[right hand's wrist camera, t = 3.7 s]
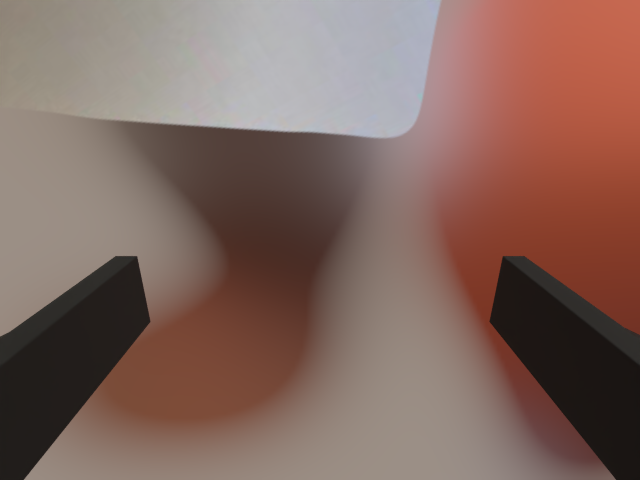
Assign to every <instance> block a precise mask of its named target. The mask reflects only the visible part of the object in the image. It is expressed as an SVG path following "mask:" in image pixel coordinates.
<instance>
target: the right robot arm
mask: <svg viewBox="0 0 640 480" xmlns="http://www.w3.org/2000/svg"><path fill="white" fill-rule="evenodd" d="M149 323H150V317H149V312H148V308H147V303H146V298H145V293H144V288H143V283H142V278H141V273H140V268H139V263H138V259H137V256H115V257H114V258H113V259H111V260H110V261H108V262H107V263H106V264H104V265H103V266H101V267H100V268H99V269H97V270H96V271H94V272H93V273H92V274H90V275H89V276H87V277H86V278H85V279H83V280H82V281H80V282H79V283H78V284H76V285H75V286H73V287H72V288H71V289H69V290H68V291H66V292H65V293H64V294H62V295H61V296H59V297H58V298H57V299H55V300H54V301H52V302H51V303H50V304H48V305H47V306H45V307H44V308H43V309H41V310H40V311H38V312H37V313H36V314H34V315H33V316H31V317H30V318H29V319H27V320H26V321H24V322H23V323H22V324H20V325H19V326H17V327H16V328H15V329H13V330H12V331H10V332H9V333H7V334H5V335H3V336H1V337H0V480H24V479H25V477H26V476H27V475H28V474H29V473H30V471H31V470H32V469H33V467H34V466H35V465H36V464H37V462H38V461H39V460H40V459H41V458H42V456H43V455H44V454H45V453H46V451H47V450H48V449H49V448H50V446H51V445H52V444H53V443H54V441H55V440H56V439H57V437H58V436H59V435H60V434H61V433H62V431H63V430H64V429H65V428H66V426H67V425H68V424H69V423H70V421H71V420H72V419H73V418H74V416H75V415H76V414H77V413H78V411H79V410H80V409H81V408H82V406H83V405H84V404H85V403H86V401H87V400H88V399H89V398H90V396H91V395H92V394H93V393H94V391H95V390H96V389H97V388H98V386H99V385H100V384H101V383H102V381H103V380H104V379H105V378H106V376H107V375H108V374H109V373H110V371H111V370H112V369H113V368H114V367H115V365H116V364H117V363H118V361H119V360H120V359H121V358H122V357H123V355H124V354H125V353H126V352H127V350H128V349H129V348H130V347H131V345H132V344H133V343H134V342H135V340H136V339H137V338H138V337H139V335H140V334H141V333H142V332H143V330H144V329H145V328H146V327H147V325H148V324H149ZM490 323H491V324H492V325H493V327H494V328H495V329H496V330H497V332H498V333H499V334H500V335H501V337H502V338H503V339H504V340H505V342H506V343H507V344H508V345H509V346H510V348H511V349H512V350H513V352H514V353H515V354H516V355H517V357H518V358H519V359H520V360H521V362H522V363H523V364H524V365H525V366H526V368H527V369H528V370H529V371H530V373H531V374H532V375H533V376H534V378H535V379H536V380H537V381H538V383H539V384H540V385H541V386H542V388H543V389H544V390H545V391H546V393H547V394H548V395H549V396H550V398H551V399H552V400H553V401H554V403H555V404H556V405H557V406H558V408H559V409H560V410H561V411H562V413H563V414H564V415H565V416H566V418H567V419H568V420H569V421H570V423H571V424H572V425H573V426H574V427H575V429H576V430H577V431H578V433H579V434H580V435H581V436H582V438H583V439H584V440H585V441H586V443H587V444H588V445H589V446H590V448H591V449H592V450H593V451H594V453H595V454H596V455H597V456H598V458H599V459H600V460H601V461H602V462H603V464H604V465H605V466H606V467H607V469H608V470H609V471H610V473H611V474H612V475H613V476H614V477H615V479H616V480H640V335H639V334H636V333H634V332H632V331H630V330H628V329H626V328H624V327H623V326H621V325H620V324H618V323H617V322H616V321H614V320H613V319H611V318H610V317H609V316H607V315H606V314H604V313H603V312H602V311H600V310H599V309H597V308H596V307H595V306H593V305H592V304H590V303H589V302H588V301H586V300H585V299H583V298H582V297H581V296H579V295H578V294H576V293H575V292H574V291H572V290H571V289H569V288H568V287H567V286H565V285H564V284H562V283H561V282H560V281H558V280H557V279H555V278H554V277H553V276H551V275H550V274H548V273H547V272H546V271H544V270H543V269H541V268H540V267H539V266H537V265H536V264H534V263H533V262H532V261H530V260H529V259H527V258H526V257H525V256H503V258H502V263H501V268H500V273H499V278H498V283H497V288H496V293H495V298H494V303H493V308H492V313H491V317H490Z"/></svg>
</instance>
